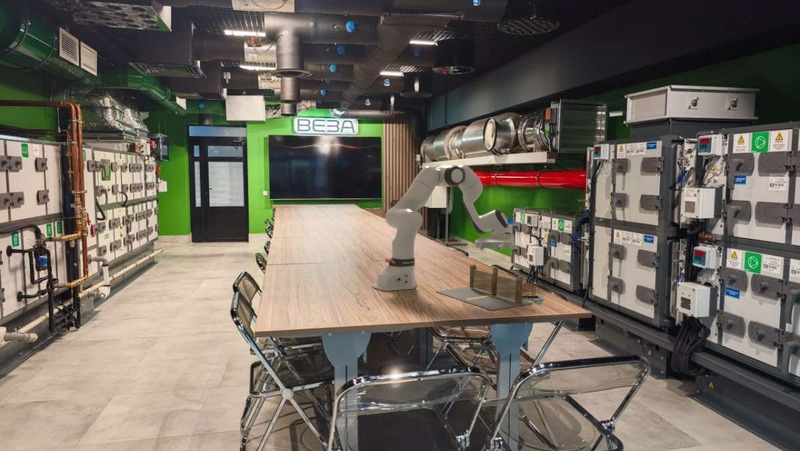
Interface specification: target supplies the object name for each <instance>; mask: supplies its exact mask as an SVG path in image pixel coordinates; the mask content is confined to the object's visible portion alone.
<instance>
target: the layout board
mask: <svg viewBox="0 0 800 451" xmlns="http://www.w3.org/2000/svg"><path fill="white" fill-rule="evenodd" d="M435 293H436V294H440V295H443V296H446V297H450V298H451V299H455V300H459V301H461V302H464V303H467V304H469V305H472V306H475V307H479V308H481V309H485V310H487V311H491V312H495V311H500V309H501V310H507V309H512V308H517V306H518V307H523V306H522V305H524V306H528V305H533V304H534V302H532V301H527V300H525V299H522V303H517V302H515V300H512V299H508V298H505V297H502V296H498V295H497V296H493V295H492V293H490V292H487V291H483V290H480V289H477V288H470V286H466V287H459V288H457V287H456V288H449V289H443V290H436V291H435ZM494 310H495V311H494Z"/></svg>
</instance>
